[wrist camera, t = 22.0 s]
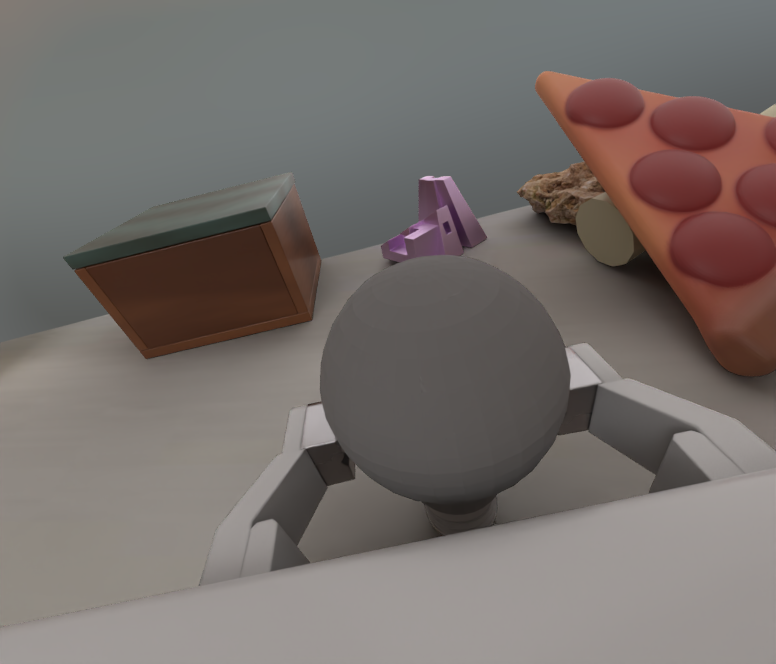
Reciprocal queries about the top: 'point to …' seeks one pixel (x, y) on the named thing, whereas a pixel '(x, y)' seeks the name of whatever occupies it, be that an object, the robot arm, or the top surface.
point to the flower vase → (612, 228)
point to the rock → (562, 192)
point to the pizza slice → (688, 200)
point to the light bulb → (445, 385)
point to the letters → (437, 224)
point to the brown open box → (213, 284)
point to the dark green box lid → (188, 220)
